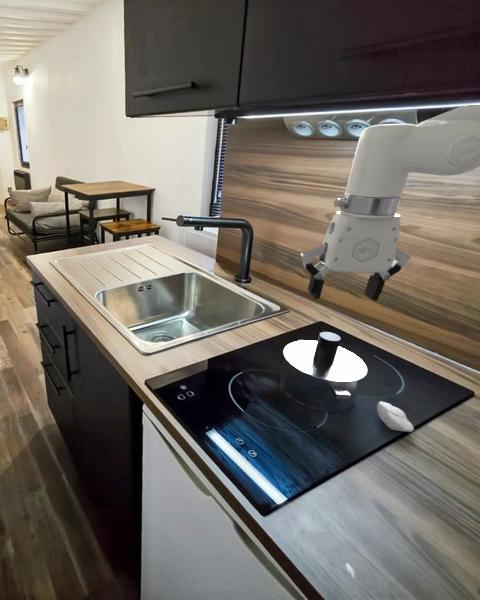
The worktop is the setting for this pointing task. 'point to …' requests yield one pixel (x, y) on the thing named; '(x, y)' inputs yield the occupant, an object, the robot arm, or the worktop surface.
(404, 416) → the dumpling
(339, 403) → the pot
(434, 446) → the worktop surface
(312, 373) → the lid
